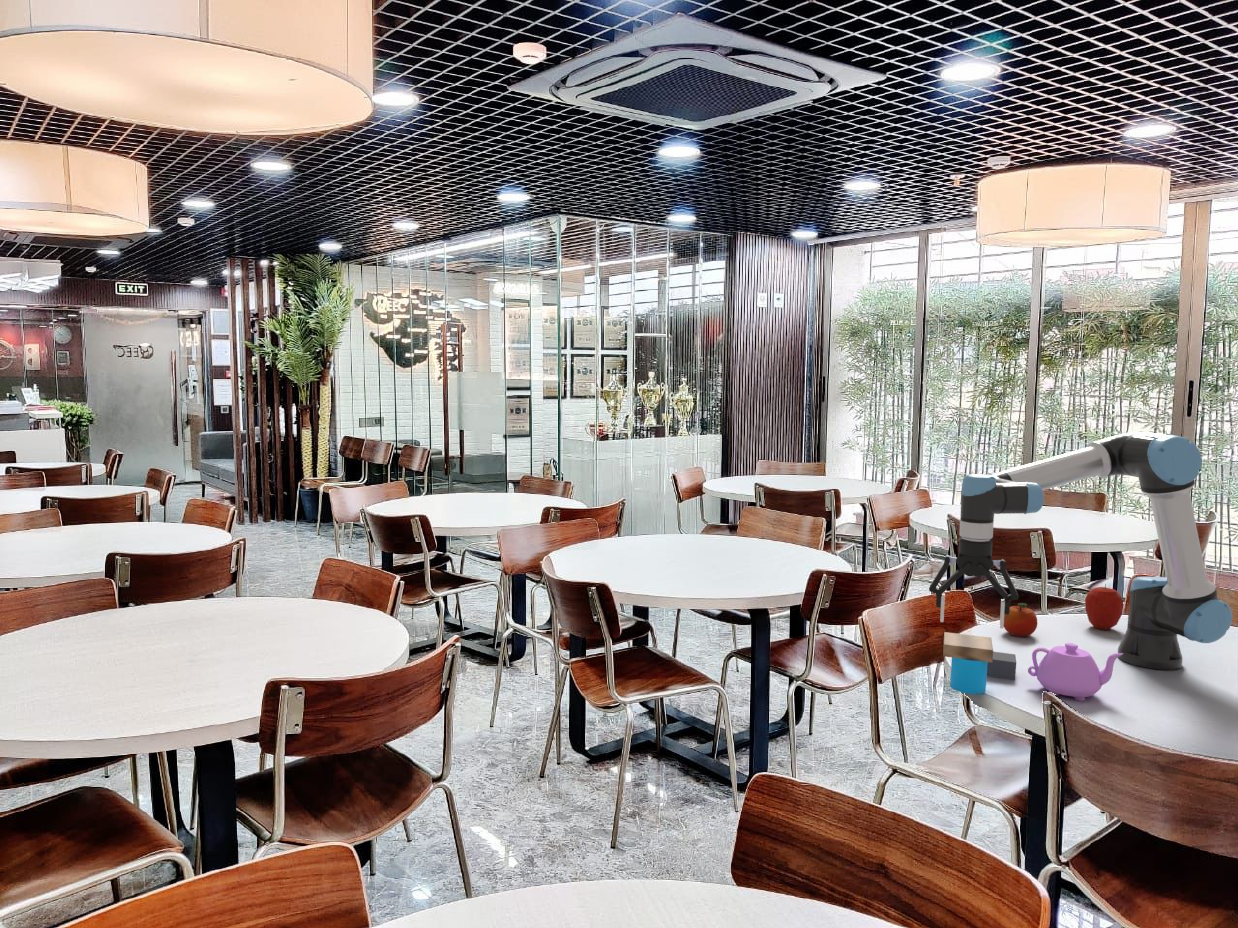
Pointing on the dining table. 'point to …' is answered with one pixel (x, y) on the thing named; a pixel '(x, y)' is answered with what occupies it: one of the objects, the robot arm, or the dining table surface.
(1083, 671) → the teapot
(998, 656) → the block
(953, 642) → the block
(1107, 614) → the apple
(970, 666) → the mug
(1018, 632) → the fruit
